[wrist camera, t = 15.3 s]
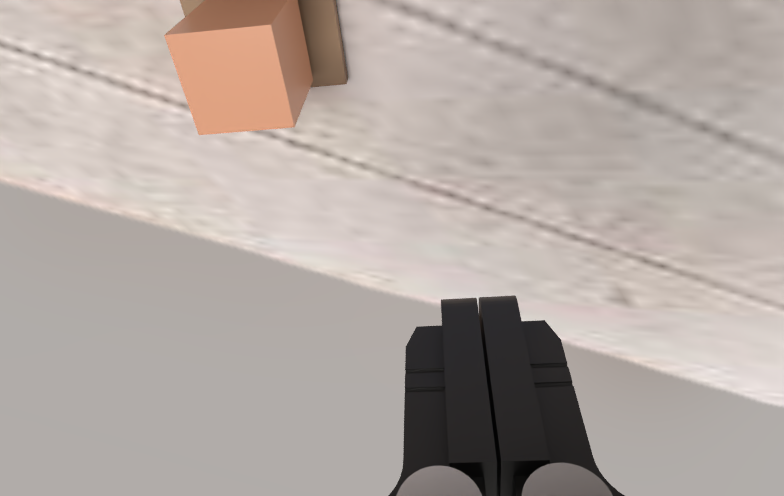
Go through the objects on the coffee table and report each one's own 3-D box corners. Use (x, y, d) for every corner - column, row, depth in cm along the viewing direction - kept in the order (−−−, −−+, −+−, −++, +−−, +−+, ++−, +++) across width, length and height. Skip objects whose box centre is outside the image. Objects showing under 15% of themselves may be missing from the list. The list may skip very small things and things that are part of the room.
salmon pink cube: (206, -1, 31) (164, 35, 26) (295, -11, 31) (270, 24, 26) (231, 87, 35) (198, 134, 29) (313, 79, 34) (294, 127, 29)
